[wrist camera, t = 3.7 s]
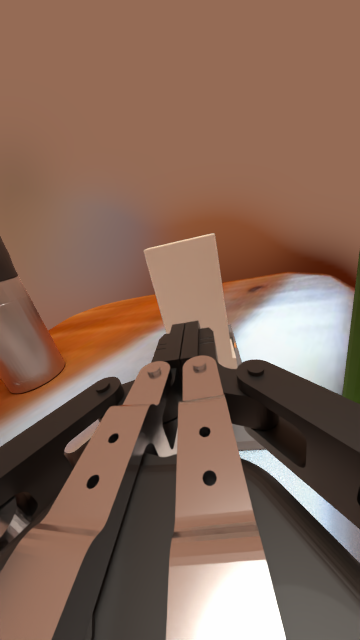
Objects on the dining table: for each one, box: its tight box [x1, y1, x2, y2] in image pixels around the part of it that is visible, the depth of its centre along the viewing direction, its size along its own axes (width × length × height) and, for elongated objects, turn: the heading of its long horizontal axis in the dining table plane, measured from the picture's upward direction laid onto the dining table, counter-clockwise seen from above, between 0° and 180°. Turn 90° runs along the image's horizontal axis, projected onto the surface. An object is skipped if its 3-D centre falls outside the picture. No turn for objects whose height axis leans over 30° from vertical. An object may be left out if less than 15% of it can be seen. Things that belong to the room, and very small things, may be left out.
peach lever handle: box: [144, 233, 237, 369], centre depth 19 cm, size 4×6×16 cm
